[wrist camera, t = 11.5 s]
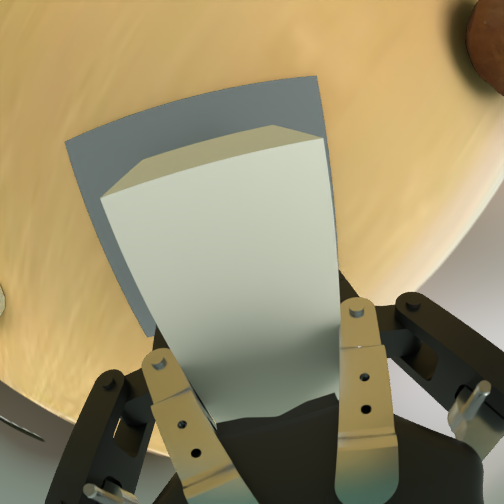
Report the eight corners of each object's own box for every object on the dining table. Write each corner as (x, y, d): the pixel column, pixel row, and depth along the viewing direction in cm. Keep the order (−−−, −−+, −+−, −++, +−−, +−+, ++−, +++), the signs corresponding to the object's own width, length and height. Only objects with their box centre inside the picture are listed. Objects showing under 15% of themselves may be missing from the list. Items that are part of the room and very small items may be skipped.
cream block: (312, 370, 17) (272, 125, 10) (339, 437, 13) (323, 137, 6) (233, 391, 17) (142, 159, 10) (245, 462, 12) (99, 198, 6)
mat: (147, 334, 28) (147, 337, 28) (66, 141, 19) (64, 141, 18) (337, 286, 29) (339, 288, 29) (314, 76, 20) (316, 75, 19)
